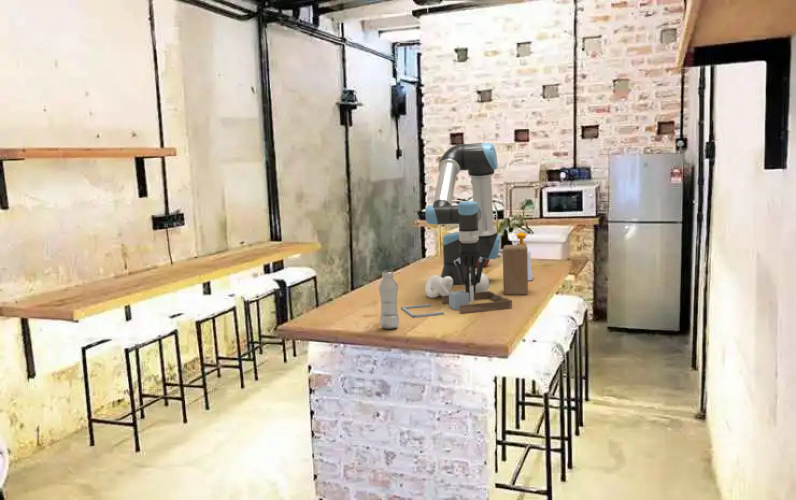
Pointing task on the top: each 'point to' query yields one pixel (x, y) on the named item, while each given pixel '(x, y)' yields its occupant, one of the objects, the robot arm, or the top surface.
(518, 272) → the wooden block
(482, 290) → the ornament
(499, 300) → the brown flat u-shaped frame
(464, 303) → the cube
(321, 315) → the top surface
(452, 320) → the top surface
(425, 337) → the top surface
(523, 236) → the soap bottle
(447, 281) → the white lobed knot
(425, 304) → the corral
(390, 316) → the plastic bottle
